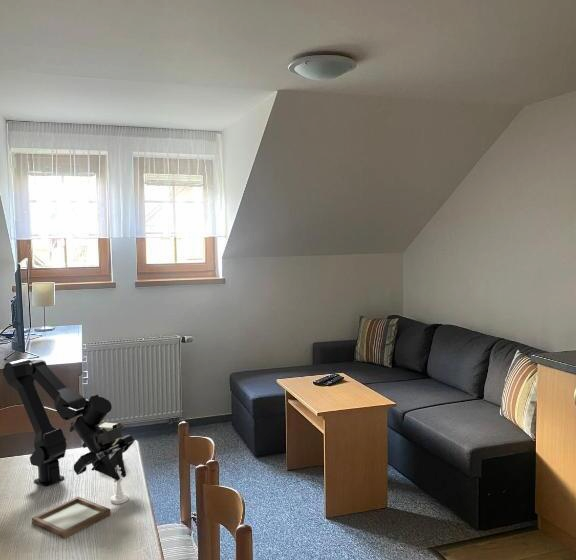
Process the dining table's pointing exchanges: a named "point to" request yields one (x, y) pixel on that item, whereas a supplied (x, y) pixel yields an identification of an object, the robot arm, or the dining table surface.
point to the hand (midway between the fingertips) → (121, 478)
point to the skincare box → (109, 427)
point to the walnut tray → (71, 517)
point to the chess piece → (119, 490)
